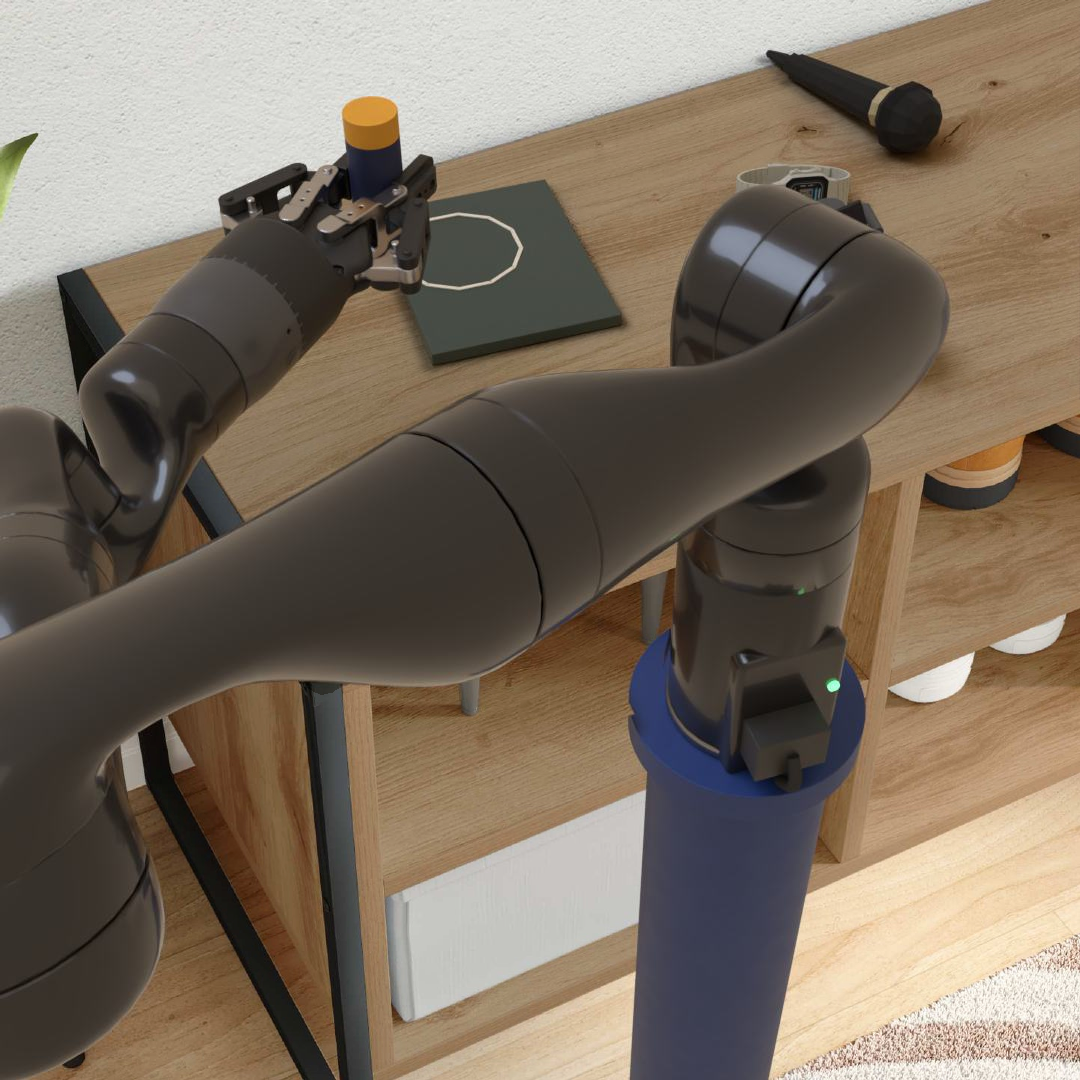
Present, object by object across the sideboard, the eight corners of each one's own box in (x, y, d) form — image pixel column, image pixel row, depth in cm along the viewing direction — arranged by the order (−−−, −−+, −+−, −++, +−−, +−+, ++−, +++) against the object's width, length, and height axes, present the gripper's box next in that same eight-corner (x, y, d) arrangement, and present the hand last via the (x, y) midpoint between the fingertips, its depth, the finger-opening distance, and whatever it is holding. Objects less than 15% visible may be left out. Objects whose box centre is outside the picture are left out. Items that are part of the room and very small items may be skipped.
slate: (621, 325, 113) (621, 313, 112) (432, 365, 110) (431, 353, 109) (545, 189, 125) (545, 177, 124) (373, 222, 122) (371, 211, 121)
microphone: (753, 97, 139) (911, 177, 126) (736, 44, 135) (899, 121, 122) (799, 62, 140) (961, 137, 127) (784, 7, 136) (950, 80, 122)
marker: (418, 289, 98) (403, 119, 90) (368, 299, 98) (348, 130, 89) (405, 260, 100) (389, 91, 92) (356, 270, 100) (336, 101, 91)
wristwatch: (746, 243, 119) (751, 187, 116) (720, 197, 124) (724, 142, 120) (860, 225, 121) (868, 169, 117) (830, 180, 125) (838, 125, 121)
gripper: (344, 300, 80) (502, 133, 91) (121, 229, 85) (296, 78, 95) (358, 410, 86) (506, 241, 96) (148, 338, 90) (311, 184, 101)
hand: (400, 161), depth 96 cm, fingers closed on marker, 3 cm apart
